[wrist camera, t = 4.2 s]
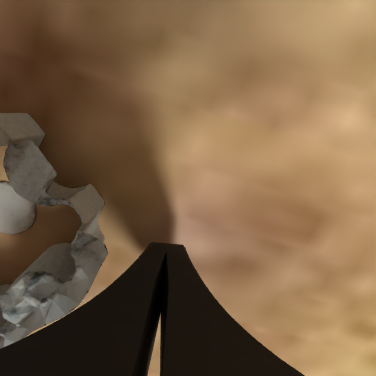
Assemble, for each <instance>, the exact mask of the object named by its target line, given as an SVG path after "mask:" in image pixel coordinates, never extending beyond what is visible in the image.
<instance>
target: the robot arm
mask: <svg viewBox="0 0 376 376" xmlns="http://www.w3.org/2000/svg"><path fill="white" fill-rule="evenodd" d="M160 314H161V346H160V376H304V375H303V374H302V373H300V372H299V371H297V370H296V369H294V368H293V367H291V366H290V365H288V364H287V363H286V362H284V361H283V360H281V359H280V358H279V357H277V356H276V355H275V354H273V353H272V352H271V351H270V350H268V349H267V348H266V347H265V346H263V345H262V344H261V343H260V342H258V341H257V340H256V339H255V338H254V337H252V336H251V335H250V334H249V333H248V332H247V331H246V330H245V329H244V328H243V327H241V326H240V325H239V324H238V323H237V322H236V321H235V320H234V319H233V318H232V317H231V316H230V315H229V314H228V313H227V312H226V311H225V309H224V308H223V307H222V306H221V305H220V304H219V303H218V301H217V300H216V299H215V298H214V296H213V295H212V294H211V292H210V291H209V289H208V288H207V287H206V285H205V284H204V282H203V281H202V279H201V278H200V276H199V274H198V273H197V271H196V269H195V268H194V266H193V264H192V262H191V260H190V258H189V256H188V254H187V251H186V248H185V247H184V246H183V245H178V244H166V243H155V242H152V243H150V244H149V245H148V247H147V248H146V249H145V251H144V252H143V253H142V254H141V255H140V256H139V258H138V259H137V260H136V261H135V262H134V263H133V264H132V265H131V266H130V267H129V268H128V269H127V270H126V271H125V272H124V273H123V274H122V275H121V276H120V277H119V278H118V279H116V280H115V281H114V282H113V283H112V284H111V285H110V286H108V287H107V288H106V289H105V290H104V291H102V292H101V293H100V294H98V295H97V296H96V297H94V298H93V299H92V300H90V301H89V302H87V303H86V304H84V305H83V306H81V307H79V308H78V309H76V310H75V311H73V312H71V313H70V314H68V315H67V316H65V317H63V318H61V319H60V320H58V321H56V322H54V323H52V324H51V325H49V326H47V327H45V328H43V329H41V330H39V331H37V332H35V333H33V334H31V335H29V336H27V337H25V338H23V339H21V340H19V341H17V342H14V343H12V344H10V345H8V346H5V347H3V348H1V349H0V376H147V375H148V369H149V365H150V360H151V355H152V351H153V346H154V342H155V337H156V332H157V328H158V323H159V318H160Z"/></svg>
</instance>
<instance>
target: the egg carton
mask: <svg viewBox="0 0 376 376" xmlns="http://www.w3.org/2000/svg"><path fill="white" fill-rule="evenodd" d="M44 136H45V133H44V132H43V130H42V129H41V128H40V127H39V125H38V124H37V123H36V122H35V121H34V120H33V118H32V117H31V116H30V115H29V114H28V113H0V146H6V145H9V147H8V148H7V149H6V152H5V157H4V161H3V166H4V168H5V171H6V174H7V177H8V179H9V182H10V183H9V182H0V232H1V233H5V234H16V233H20V232H23V231H25V230H27V229H29V228H30V227H31V226H32V224H33V222H34V220H35V217H36V208H35V204H37V205H41V206H53V205H56V204H58V205H69V206H71V207H72V208H74V209H75V211H76V212H77V214H78V215H79V216H80V218H81V221H82V226H81V227H80V229H79V230H78V231H77V233H76V236H75V239H74V240H73V241H72V242H71V243H58V244H55V245H52V246H50V247H48V248H47V249H46V250H45V251H44V252H43V253H42V254H41V255H40V256H39V257H38V258H37V259H36V260H35V261H34V262H33V263H32V264H31V265H30V266H29V267H28V268H27V269H26V270H25V271H24V272H23V273H22V274H21V275H20V276H19V277H18V278H17V279H16V280H15V281H14V282H13V283H12V284H3V285H0V349H1V348H3V347H5V346H8V345H10V344H12V343H14V342H17V341H19V340H21V339H23V338H24V337H26V336H27V335H28V334H30V333H31V332H33V331H34V330H36V329H38V328H41V327H43V326H45V325H47V324H49V323H51V322H53V321H55V320H57V319H59V318H62V317H64V316H66V315H67V314H68V313H70V312H71V311H72V310H73V309H74V308H76V307H77V306H78V305H79V304H80V303H81V301H82V300H83V299H84V297H85V296H86V294H87V293H88V291H89V289H90V287H91V285H92V283H93V281H94V279H95V277H96V275H97V273H98V271H99V269H100V267H101V265H102V263H103V261H104V260H105V258H106V257H107V255H108V251H107V248H106V246H105V244H104V243H103V242H104V240H105V239H104V236H103V234H102V233H101V231H100V229H99V225H98V218H99V214H100V211H101V210H102V208H103V207H104V205H105V203H104V200H103V199H102V197H101V196H100V195H99V193H98V192H97V191H96V189H95V187H93V186H92V185H91V184H87V185H85V186H82V187H77V188H67V187H63V186H61V185H59V184H57V183H55V182H54V179H55V177H56V175H57V173H56V172H55V170H54V168H53V167H52V165H51V164H50V163H49V162H48V161H47V159H46V158H45V156H44V155H43V154H42V152H41V151H40V150H39V146H40V144H41V142H42V140H43V138H44Z"/></svg>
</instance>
